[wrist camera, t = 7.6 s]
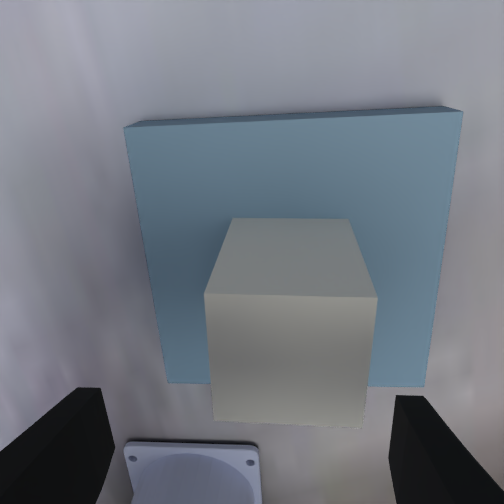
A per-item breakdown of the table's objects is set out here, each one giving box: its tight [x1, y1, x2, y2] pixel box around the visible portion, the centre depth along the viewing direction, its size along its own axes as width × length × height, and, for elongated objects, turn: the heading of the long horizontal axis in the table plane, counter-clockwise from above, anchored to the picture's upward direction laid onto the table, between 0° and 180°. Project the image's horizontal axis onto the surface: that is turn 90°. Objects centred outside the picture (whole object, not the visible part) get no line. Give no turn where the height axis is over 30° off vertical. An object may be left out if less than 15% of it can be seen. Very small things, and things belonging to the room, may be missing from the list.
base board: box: [123, 106, 463, 387], centre depth 18 cm, size 12×12×2 cm
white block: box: [204, 218, 378, 429], centre depth 14 cm, size 4×4×6 cm
